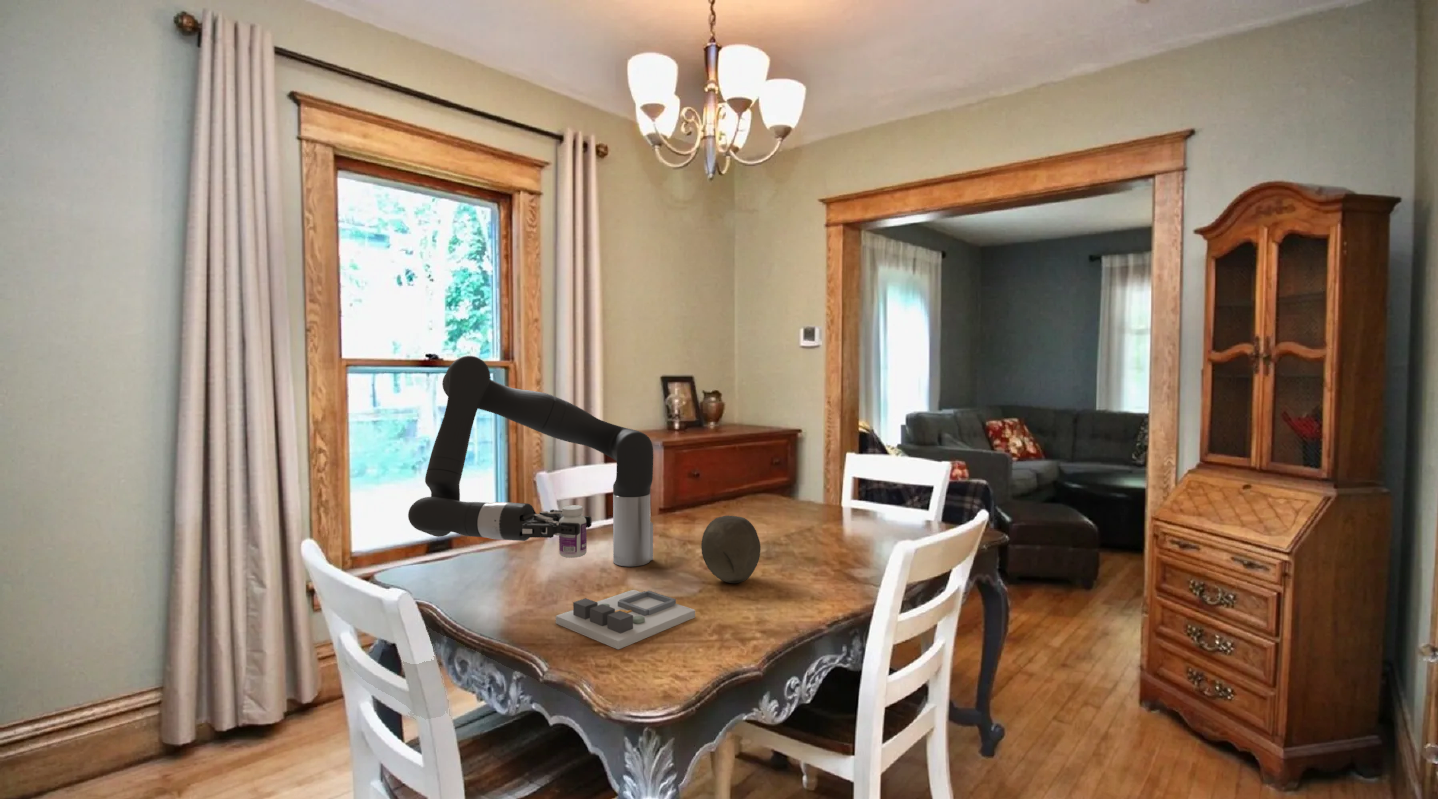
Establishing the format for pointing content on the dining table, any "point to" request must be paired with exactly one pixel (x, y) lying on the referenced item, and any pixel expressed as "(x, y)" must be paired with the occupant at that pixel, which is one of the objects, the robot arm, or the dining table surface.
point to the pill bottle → (573, 543)
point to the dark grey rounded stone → (731, 548)
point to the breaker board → (638, 628)
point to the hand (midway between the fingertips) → (584, 525)
